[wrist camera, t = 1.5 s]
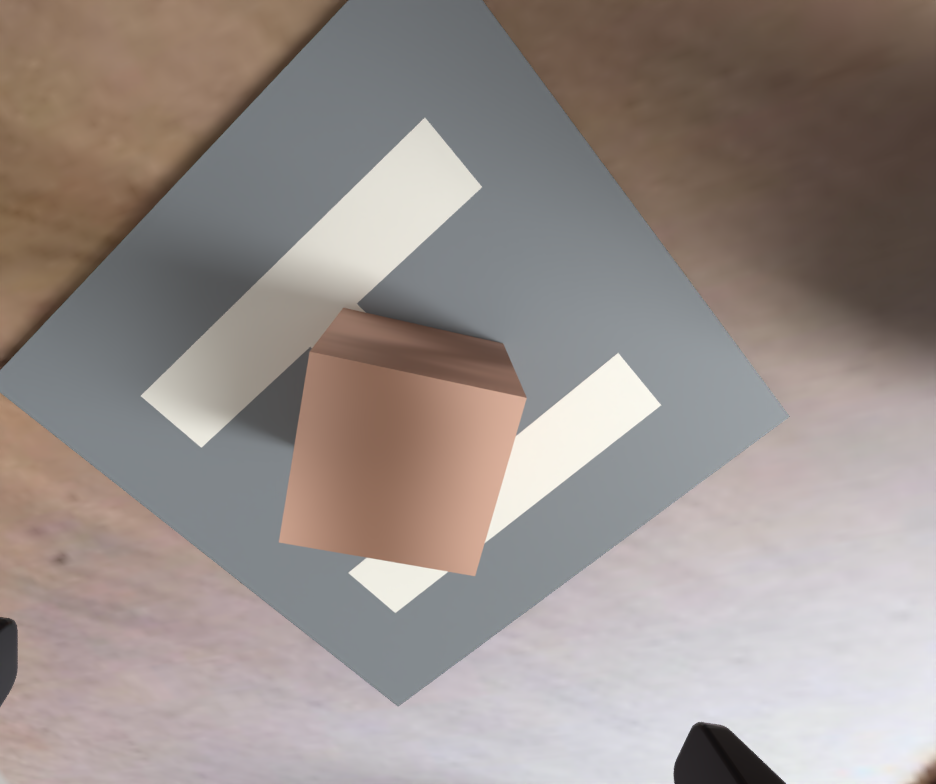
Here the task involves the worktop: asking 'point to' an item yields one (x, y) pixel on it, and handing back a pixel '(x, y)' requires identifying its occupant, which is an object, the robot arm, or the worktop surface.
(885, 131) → the worktop surface
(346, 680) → the worktop surface
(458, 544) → the terracotta block
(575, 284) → the board
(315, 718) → the worktop surface
